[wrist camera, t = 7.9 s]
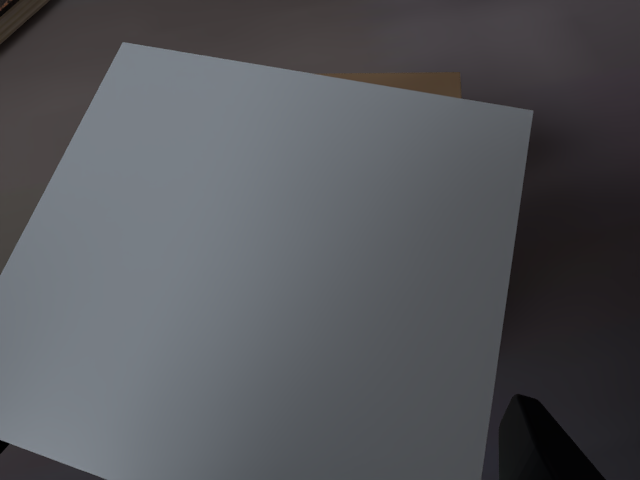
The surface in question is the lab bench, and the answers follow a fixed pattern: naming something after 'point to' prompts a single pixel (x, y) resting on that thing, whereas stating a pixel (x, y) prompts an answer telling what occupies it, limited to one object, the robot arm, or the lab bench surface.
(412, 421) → the grey tapered block
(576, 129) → the lab bench surface
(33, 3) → the hardcover book
